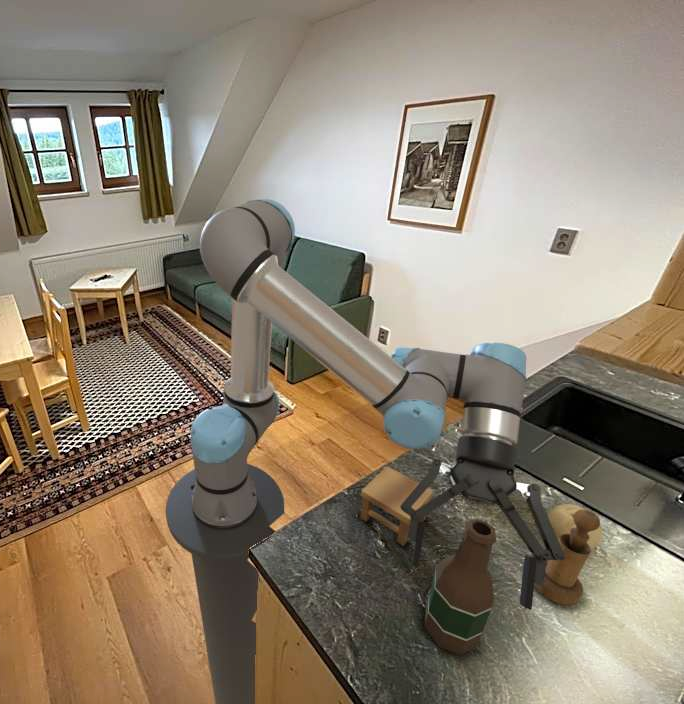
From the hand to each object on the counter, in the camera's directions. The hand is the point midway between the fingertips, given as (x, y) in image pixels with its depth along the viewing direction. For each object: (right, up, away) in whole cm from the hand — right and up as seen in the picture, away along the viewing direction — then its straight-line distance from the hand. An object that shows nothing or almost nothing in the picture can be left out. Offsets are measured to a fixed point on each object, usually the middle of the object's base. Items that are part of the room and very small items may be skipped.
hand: (466, 585), depth 57 cm
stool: (+1, -2, +27) cm, 27 cm away
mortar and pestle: (+23, -7, +12) cm, 27 cm away
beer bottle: (+2, -12, +7) cm, 14 cm away
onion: (+32, -3, +20) cm, 38 cm away
